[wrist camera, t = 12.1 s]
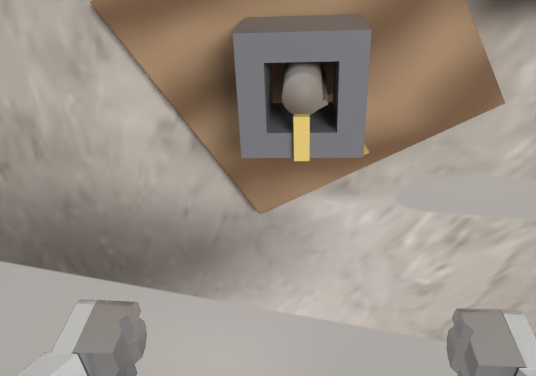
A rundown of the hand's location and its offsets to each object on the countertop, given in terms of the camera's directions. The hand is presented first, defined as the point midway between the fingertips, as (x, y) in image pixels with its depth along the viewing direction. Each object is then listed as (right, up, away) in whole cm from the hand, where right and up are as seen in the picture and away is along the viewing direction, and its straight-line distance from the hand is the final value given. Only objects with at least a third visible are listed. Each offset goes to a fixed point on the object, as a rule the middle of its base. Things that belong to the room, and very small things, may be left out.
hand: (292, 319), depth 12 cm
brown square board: (+2, +12, +17) cm, 21 cm away
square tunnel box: (+1, +10, +15) cm, 18 cm away
